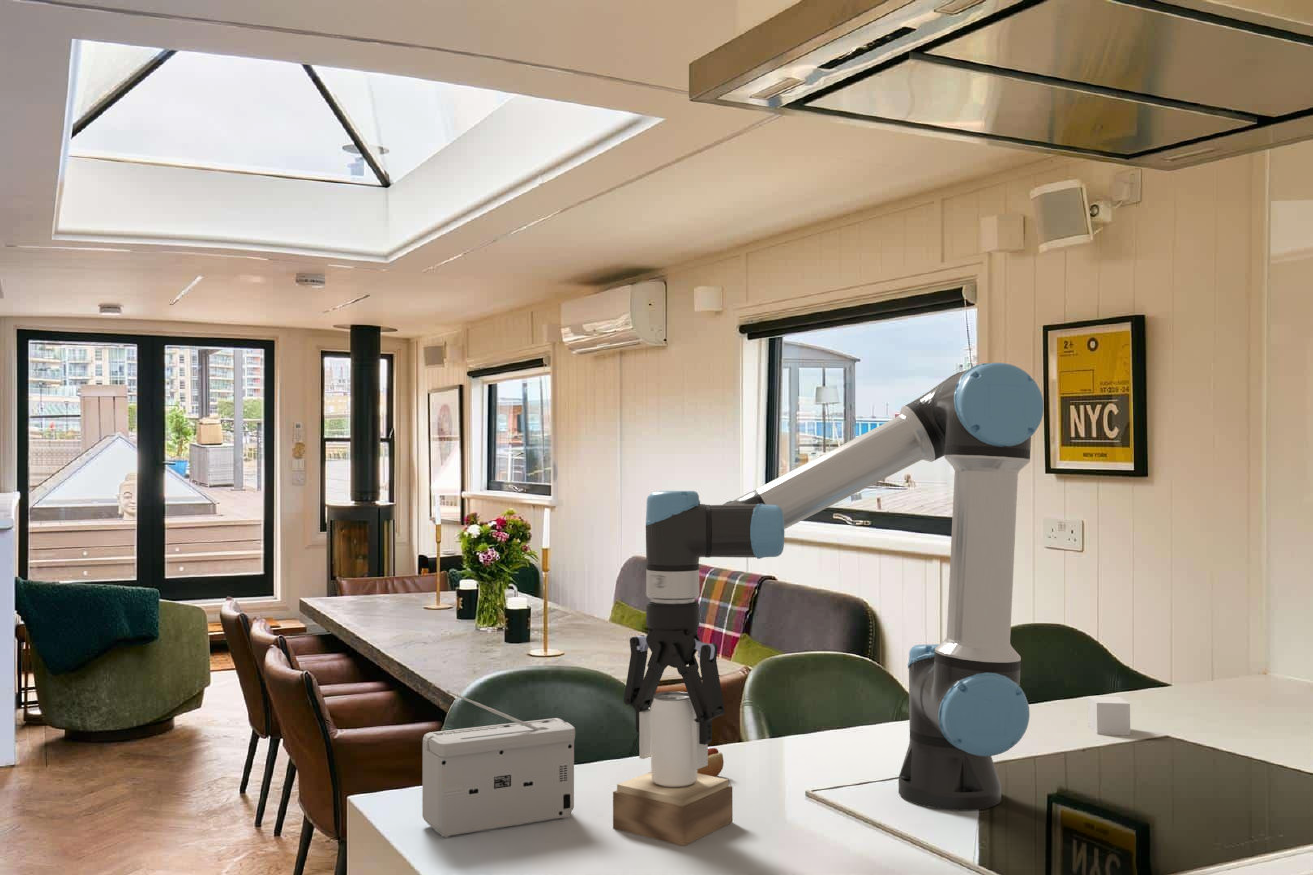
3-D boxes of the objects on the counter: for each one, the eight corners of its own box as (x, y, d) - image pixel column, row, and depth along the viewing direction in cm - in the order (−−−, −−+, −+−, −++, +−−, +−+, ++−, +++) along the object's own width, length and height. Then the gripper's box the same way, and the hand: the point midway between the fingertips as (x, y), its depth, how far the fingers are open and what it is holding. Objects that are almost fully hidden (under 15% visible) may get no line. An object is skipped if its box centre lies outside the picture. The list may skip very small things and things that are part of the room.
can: (693, 789, 145) (691, 700, 146) (647, 787, 146) (645, 699, 147) (701, 776, 151) (699, 691, 152) (656, 774, 153) (655, 690, 153)
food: (681, 798, 162) (681, 765, 162) (652, 792, 165) (652, 760, 165) (730, 777, 173) (730, 746, 173) (702, 772, 176) (702, 741, 176)
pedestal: (732, 822, 150) (732, 779, 150) (683, 845, 140) (683, 800, 141) (664, 806, 157) (664, 765, 157) (613, 828, 148) (613, 784, 148)
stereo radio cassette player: (558, 803, 159) (558, 669, 160) (580, 819, 151) (580, 678, 152) (420, 825, 149) (421, 682, 150) (436, 843, 142) (437, 692, 143)
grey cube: (1097, 734, 200) (1096, 702, 201) (1088, 727, 206) (1087, 696, 207) (1130, 735, 200) (1129, 703, 200) (1120, 728, 206) (1120, 696, 206)
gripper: (597, 597, 153) (598, 755, 152) (720, 607, 141) (721, 780, 140) (630, 592, 159) (630, 744, 158) (750, 602, 147) (751, 768, 146)
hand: (673, 761), depth 149 cm, fingers open, 8 cm apart
